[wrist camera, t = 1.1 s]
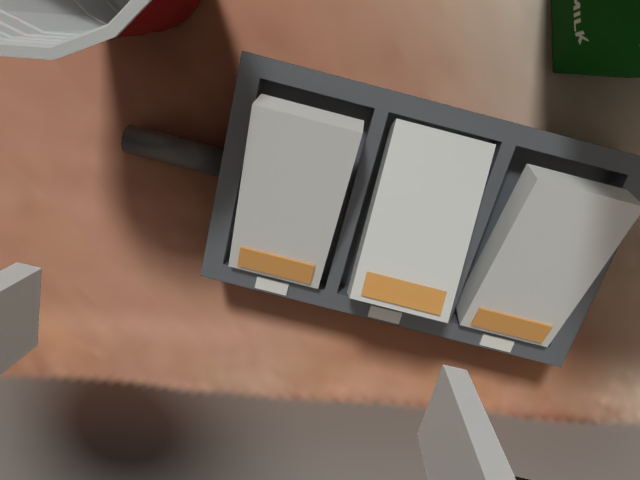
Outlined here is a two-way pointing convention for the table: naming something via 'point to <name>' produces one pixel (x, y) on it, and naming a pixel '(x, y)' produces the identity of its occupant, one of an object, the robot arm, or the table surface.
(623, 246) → the table surface
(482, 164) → the rocker
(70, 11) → the plastic cup
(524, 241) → the rocker
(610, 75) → the milk carton
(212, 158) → the grey compartment tray
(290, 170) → the rocker
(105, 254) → the table surface
